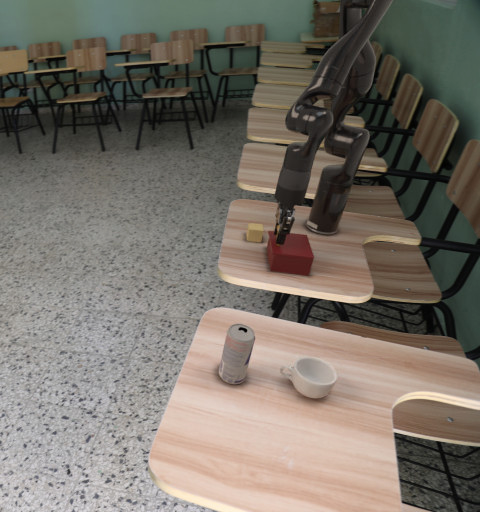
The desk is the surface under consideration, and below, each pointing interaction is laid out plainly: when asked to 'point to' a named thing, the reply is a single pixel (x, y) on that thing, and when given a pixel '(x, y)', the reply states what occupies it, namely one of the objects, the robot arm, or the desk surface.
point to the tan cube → (255, 232)
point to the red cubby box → (288, 263)
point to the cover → (291, 246)
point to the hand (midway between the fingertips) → (278, 239)
